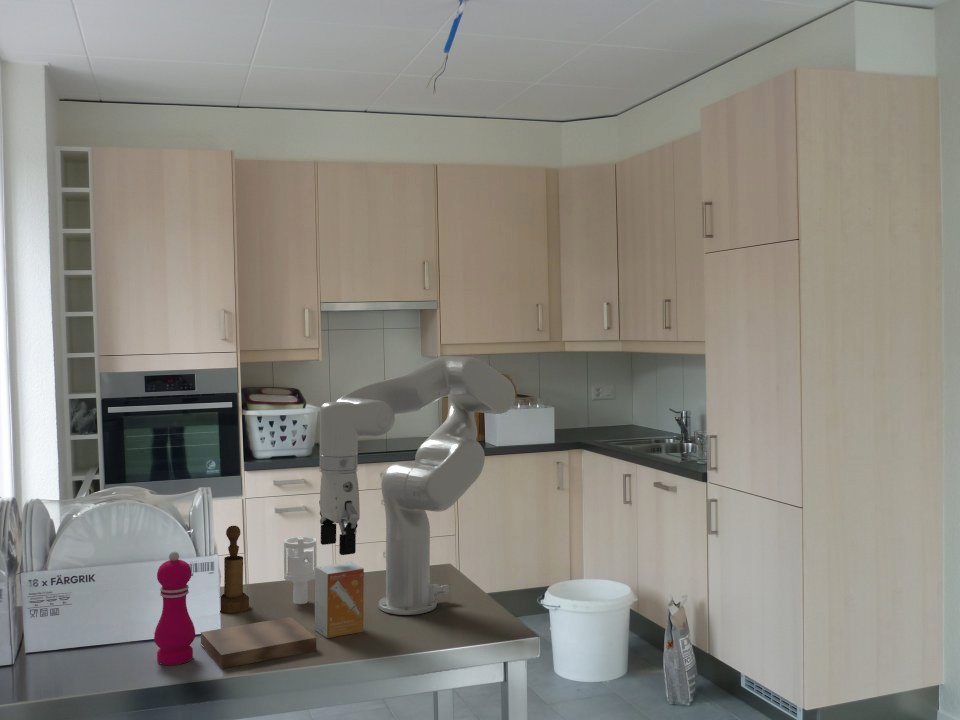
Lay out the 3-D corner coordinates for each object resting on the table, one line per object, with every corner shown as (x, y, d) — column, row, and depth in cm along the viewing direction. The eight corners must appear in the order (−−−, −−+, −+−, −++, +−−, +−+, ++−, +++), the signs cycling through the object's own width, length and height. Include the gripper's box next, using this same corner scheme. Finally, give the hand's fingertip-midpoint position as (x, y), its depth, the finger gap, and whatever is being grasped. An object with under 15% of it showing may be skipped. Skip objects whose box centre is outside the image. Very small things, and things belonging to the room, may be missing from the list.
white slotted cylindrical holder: (284, 607, 201) (284, 539, 200) (283, 598, 208) (283, 532, 207) (317, 605, 202) (317, 538, 202) (315, 596, 209) (315, 530, 208)
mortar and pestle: (253, 610, 199) (253, 527, 198) (224, 615, 196) (223, 531, 195) (242, 602, 205) (242, 521, 204) (213, 607, 201) (213, 525, 200)
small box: (327, 639, 181) (327, 573, 181) (314, 630, 187) (314, 566, 186) (364, 632, 186) (364, 567, 185) (350, 623, 191) (350, 560, 191)
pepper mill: (163, 651, 174) (161, 546, 173) (201, 652, 174) (200, 547, 173) (148, 666, 167) (146, 556, 166) (187, 666, 167) (186, 557, 166)
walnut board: (290, 629, 187) (290, 616, 187) (316, 650, 175) (316, 637, 175) (200, 645, 178) (200, 632, 178) (221, 668, 166) (221, 655, 166)
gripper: (374, 468, 179) (373, 556, 180) (339, 457, 194) (338, 538, 194) (337, 471, 175) (337, 560, 176) (305, 459, 190) (304, 542, 191)
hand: (337, 548), depth 185 cm, fingers open, 9 cm apart
